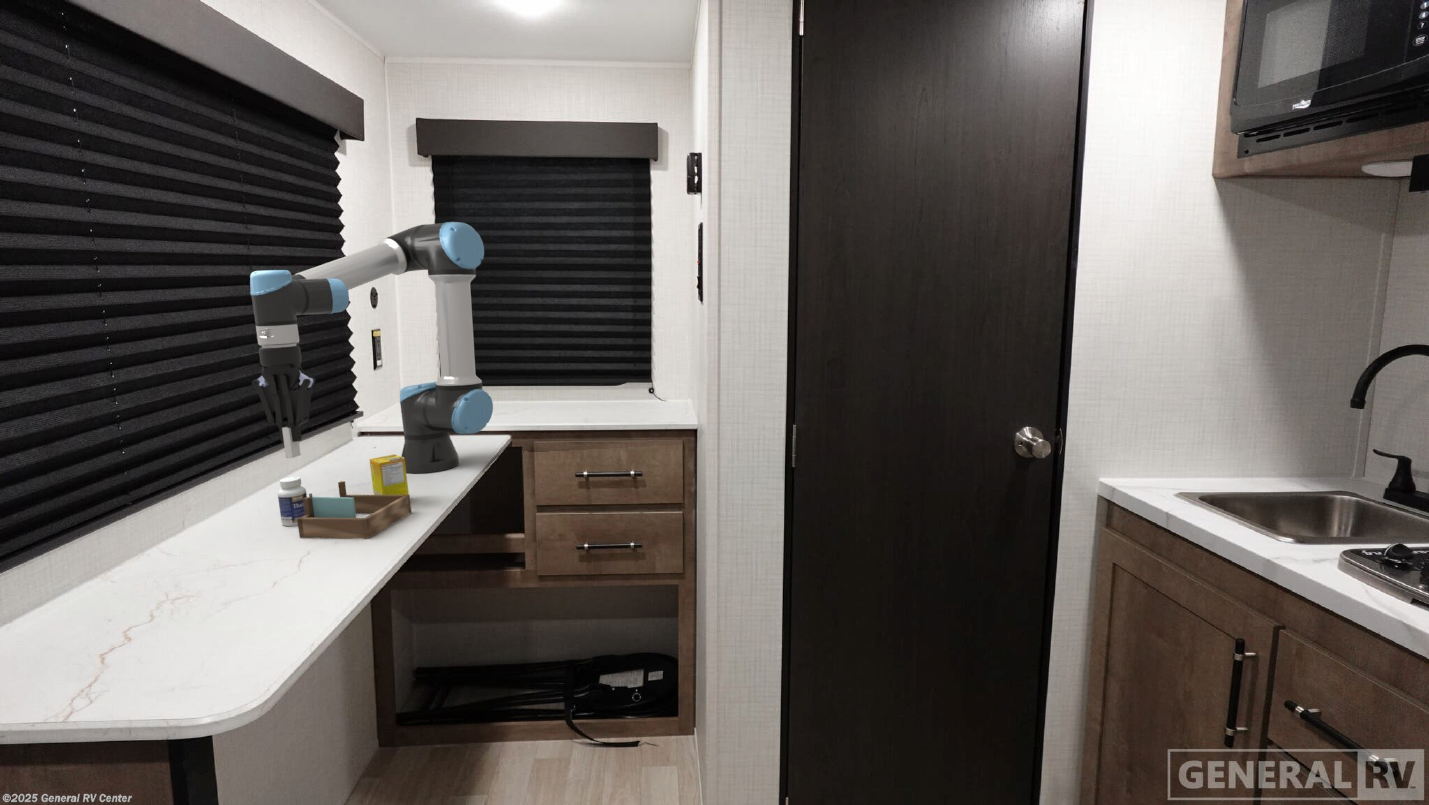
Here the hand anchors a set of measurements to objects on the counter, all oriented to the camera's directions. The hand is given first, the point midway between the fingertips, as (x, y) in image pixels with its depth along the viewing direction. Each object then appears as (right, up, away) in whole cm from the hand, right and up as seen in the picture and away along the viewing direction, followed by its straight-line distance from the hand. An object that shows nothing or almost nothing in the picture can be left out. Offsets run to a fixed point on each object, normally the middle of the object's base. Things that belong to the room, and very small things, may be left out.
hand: (293, 456), depth 165 cm
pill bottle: (-1, -15, +3) cm, 15 cm away
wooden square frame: (+14, -14, 0) cm, 20 cm away
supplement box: (+15, -12, +14) cm, 24 cm away
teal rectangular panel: (+11, -15, -4) cm, 19 cm away
